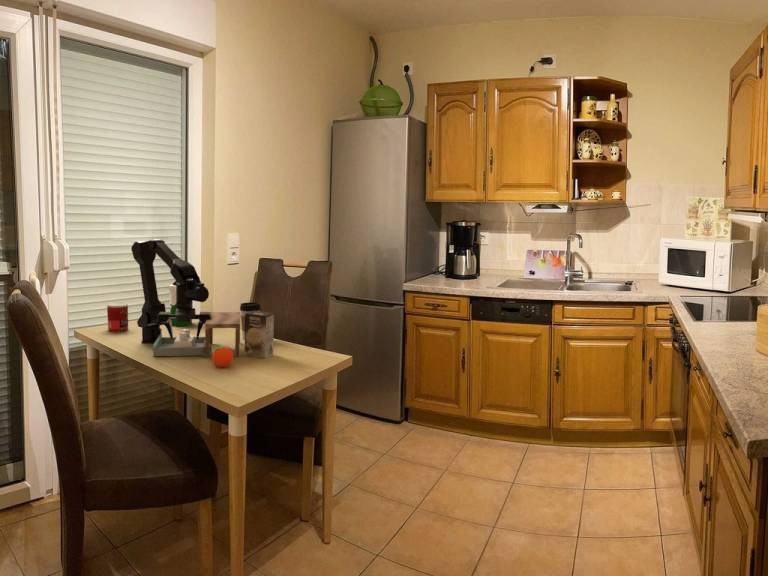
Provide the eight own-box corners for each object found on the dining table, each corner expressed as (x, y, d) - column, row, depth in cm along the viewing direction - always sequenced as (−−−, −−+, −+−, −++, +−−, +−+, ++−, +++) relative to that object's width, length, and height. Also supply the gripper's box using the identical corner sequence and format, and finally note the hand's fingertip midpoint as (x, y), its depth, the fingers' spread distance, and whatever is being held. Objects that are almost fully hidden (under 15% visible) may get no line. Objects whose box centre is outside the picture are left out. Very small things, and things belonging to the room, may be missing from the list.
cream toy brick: (174, 350, 211) (174, 334, 211) (178, 344, 220) (178, 328, 219) (191, 350, 213) (191, 334, 212) (194, 344, 221) (194, 328, 220)
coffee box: (243, 355, 214) (243, 313, 211) (252, 351, 220) (253, 310, 217) (265, 358, 211) (265, 315, 208) (274, 354, 217) (274, 312, 214)
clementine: (210, 370, 194) (210, 350, 193) (208, 364, 200) (207, 345, 199) (234, 368, 197) (234, 348, 196) (231, 363, 204) (231, 343, 202)
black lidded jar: (255, 341, 234) (255, 305, 231) (235, 340, 235) (236, 304, 233) (263, 337, 242) (264, 302, 239) (244, 335, 243) (245, 300, 241)
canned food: (123, 332, 239) (122, 306, 238) (104, 331, 239) (103, 305, 238) (131, 328, 247) (131, 303, 245) (113, 327, 247) (112, 302, 245)
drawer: (153, 356, 206) (153, 345, 206) (159, 344, 222) (159, 334, 221) (205, 355, 211) (205, 344, 210) (208, 344, 226) (208, 334, 225)
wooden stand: (205, 357, 208) (205, 324, 206) (208, 343, 229) (208, 312, 227) (239, 357, 211) (239, 323, 209) (239, 342, 231) (240, 312, 229)
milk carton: (194, 322, 262) (194, 279, 259) (184, 327, 253) (184, 282, 250) (176, 321, 263) (176, 278, 260) (166, 325, 255) (165, 280, 252)
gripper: (154, 302, 204) (155, 345, 206) (209, 302, 208) (209, 344, 210) (158, 296, 214) (159, 337, 217) (211, 297, 219) (211, 337, 221)
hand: (184, 339), depth 216 cm, fingers open, 9 cm apart
